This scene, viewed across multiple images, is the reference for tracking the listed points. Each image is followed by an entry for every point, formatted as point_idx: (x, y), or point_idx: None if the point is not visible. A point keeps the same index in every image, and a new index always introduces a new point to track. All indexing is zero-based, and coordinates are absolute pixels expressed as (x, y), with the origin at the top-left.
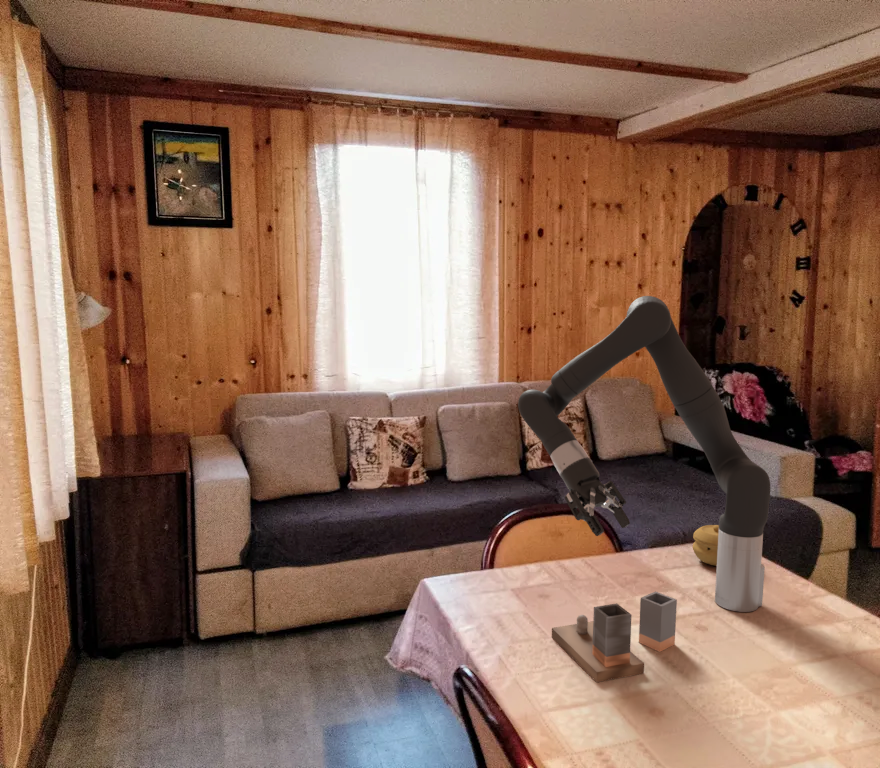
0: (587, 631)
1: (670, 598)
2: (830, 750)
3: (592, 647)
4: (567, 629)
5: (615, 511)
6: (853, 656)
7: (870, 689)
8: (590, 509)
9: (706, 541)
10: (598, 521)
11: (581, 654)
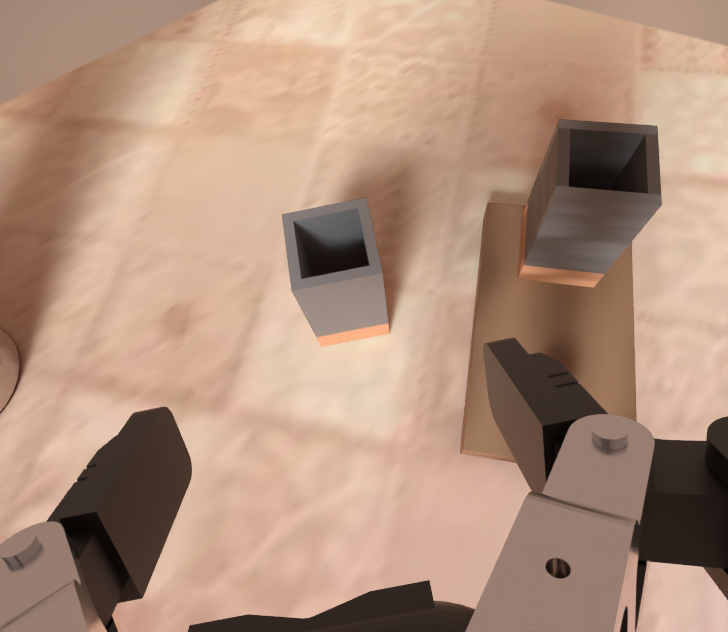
0: None
1: (292, 229)
2: None
3: (572, 315)
4: None
5: (114, 576)
6: (42, 108)
7: (143, 38)
8: (614, 479)
9: None
10: (520, 382)
11: (626, 298)
